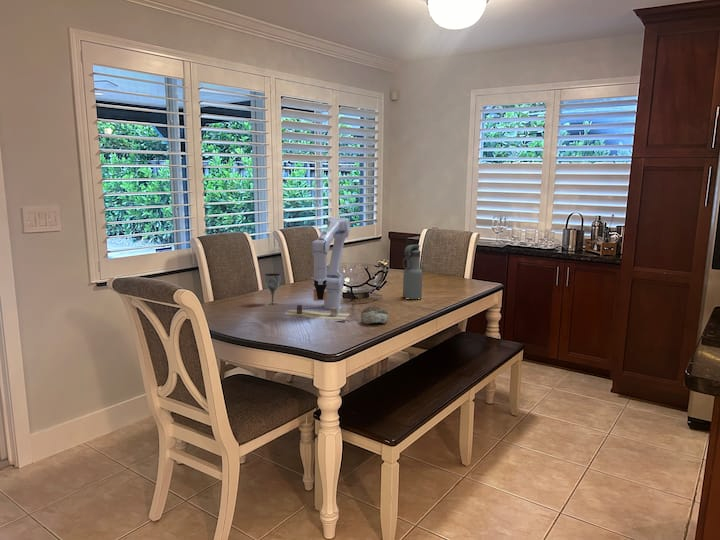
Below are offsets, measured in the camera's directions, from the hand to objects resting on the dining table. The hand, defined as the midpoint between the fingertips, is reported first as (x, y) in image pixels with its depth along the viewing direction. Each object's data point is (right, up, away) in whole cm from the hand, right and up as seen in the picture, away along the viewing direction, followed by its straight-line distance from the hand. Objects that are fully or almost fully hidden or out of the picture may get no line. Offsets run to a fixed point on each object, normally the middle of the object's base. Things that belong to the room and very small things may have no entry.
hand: (320, 297), depth 238 cm
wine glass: (-25, -5, +23) cm, 34 cm away
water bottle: (+45, -3, +44) cm, 63 cm away
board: (-2, -9, +2) cm, 9 cm away
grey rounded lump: (+24, -11, -5) cm, 27 cm away
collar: (0, -1, 0) cm, 1 cm away
